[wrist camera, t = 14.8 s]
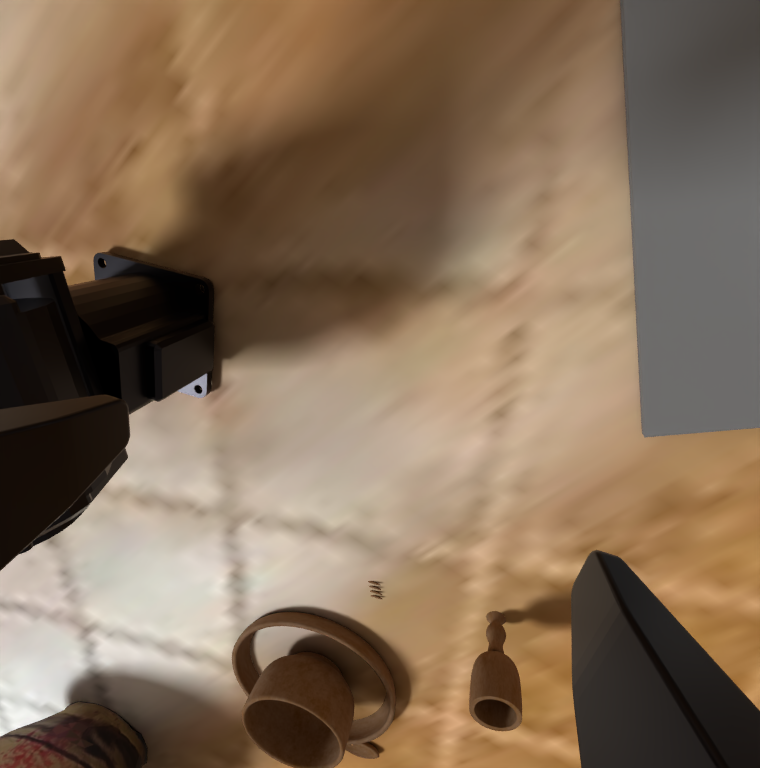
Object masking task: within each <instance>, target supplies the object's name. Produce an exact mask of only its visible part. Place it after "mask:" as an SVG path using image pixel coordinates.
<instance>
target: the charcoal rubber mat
mask: <svg viewBox="0 0 760 768" xmlns="http://www.w3.org/2000/svg"><path fill="white" fill-rule="evenodd" d="M620 6H621V26H622V46H623V66H624V86H625V106H626V125H627V145H628V165H629V185H630V205H631V224H632V244H633V264H634V284H635V304H636V323H637V343H638V363H639V383H640V403H641V423H642V434H643V435H644V437H654V436H666V435H678V434H690V433H702V432H714V431H726V430H738V429H750V428H760V0H620Z"/></svg>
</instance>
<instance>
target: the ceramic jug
mask: <svg viewBox="0 0 760 768" xmlns="http://www.w3.org/2000/svg"><path fill="white" fill-rule="evenodd" d="M146 761H147V746H146V744H145V742H144V739H143V737H142V735H141V734H139V733H138V732H136V731H134V730H132V729H131V728H130V726H129V725H128V724H127V723H126V722H125V721H124V720H123V719H122V718H121V717H120V716H119V715H117V714H116V713H114V712H112V711H111V710H109V709H107V708H105V707H103V706H100V705H97V704H94V703H84V702H77V703H74V704H71V705H69V706H68V707H67V708H66V709H65V710H63V711H61V712H59V713H57V714H55V715H52V716H50V717H48V718H45V719H43V720H41V721H38V722H35V723H32V724H29V725H27V726H24V727H21V728H18V729H16V730H13V731H11V732H9V733H7V734H5V735H3V736H1V737H0V768H141V766H143V765H144V764H146V763H147V762H146Z"/></svg>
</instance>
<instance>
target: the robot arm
mask: <svg viewBox="0 0 760 768" xmlns="http://www.w3.org/2000/svg"><path fill="white" fill-rule="evenodd" d="M104 260H105V261H106V264H107V265H105V263H104ZM63 271H66V270H65V267H64V264H63V261H62V258H61V256H56V257H43V258H41V256H40V253H29V252H28V251H27V250H26V249H25V248H24V247H22V246H21V245H20V244H19V243H18V242H17V241H15V240H14V239H12V240H0V571H1V570H2V569H3V568H4V567H5V566H6V565H7V564H8V563H9V562H11V561H12V560H13V559H14V558H15V557H16V556H17V555H18V554H21V553H24V552H27V551H28V550H30V549H31V548H32V547H33V546H35V545H37V544H39V543H41V542H43V541H45V540H47V539H49V538H51V537H53V536H54V535H56V534H58V533H59V532H61V531H63V530H64V529H65V528H67V527H68V526H69V525H71V524H72V523H73V522H74V521H75V520H76V519H77V518H78V517H79V516H80V515H81V514H82V513H83V512H84V511H85V509H87V507H88V506H89V505H90V503H91V502H92V501H93V500H94V498H95V497H96V496H97V495H98V494H99V492H100V491H101V490H102V489H103V488H104V486H105V485H106V484H107V483H108V481H109V480H110V479H111V478H112V477H113V475H114V474H115V473H116V472H117V471H118V469H119V468H120V467H121V466H122V465H123V463H124V462H125V461H126V460H127V458H128V455H127V452H126V449H125V447H126V445H127V444H128V441H129V438H130V426H129V414H131V413H133V412H135V411H136V410H138V409H140V408H142V407H143V406H145V405H147V404H148V403H150V402H152V401H157V402H159V401H161V400H163V399H165V398H166V397H168V396H170V395H171V394H173V393H175V392H177V391H178V392H182V393H185V394H188V395H191V396H195V397H198V398H202V397H205V396H206V395H208V394H209V393H210V391H211V370H213V358H214V324H213V302H214V288H213V285H212V283H211V281H210V280H209V279H207V278H204V277H201V276H197V275H193V274H189V273H185V272H181V271H178V270H174V269H170V268H166V267H162V266H158V265H155V264H151V263H147V262H143V261H139V260H135V259H132V258H128V257H124V256H120V255H116V254H112V253H109V252H102V253H97V254H95V256H94V272H95V280H94V281H89V282H84V283H79V284H74V285H69V286H68V285H67V282H66V279H65V276H64V273H63ZM200 285H202V286H203V287H204V290H205V291H204V292H202V290H201V289H200ZM199 386H201V388H202V390H203V391H202V390H200V388H199ZM571 627H572V688H573V699H574V709H575V717H576V726H577V734H578V742H579V751H580V759H581V767H582V768H760V711H759V709H758V708H757V707H756V706H755V705H754V704H753V703H752V702H751V701H750V700H749V698H748V697H747V696H746V695H745V694H744V693H743V692H742V691H741V690H740V689H739V687H738V686H737V685H736V684H735V683H734V682H733V681H732V680H731V679H730V678H729V676H728V675H727V674H726V673H725V672H724V671H723V670H722V669H721V668H720V667H719V665H718V664H717V663H716V662H715V661H714V660H713V659H712V658H711V657H710V656H709V654H708V653H707V652H706V651H705V650H704V649H703V648H702V647H701V646H700V645H699V643H698V642H697V641H696V640H695V639H694V638H693V637H692V636H691V635H690V634H689V632H688V631H687V630H686V629H685V628H684V627H683V626H682V625H681V624H680V623H679V621H678V620H677V619H676V618H675V617H674V616H673V615H672V614H671V613H670V612H669V611H668V609H667V608H666V607H665V606H664V605H663V604H662V603H661V602H660V601H659V600H658V598H657V597H656V596H655V595H654V594H653V593H652V592H651V591H650V590H649V589H648V587H647V586H646V585H645V584H644V583H643V582H642V581H641V580H640V579H639V578H638V576H637V575H636V574H635V573H634V572H633V571H632V570H631V569H630V568H629V567H628V565H627V564H626V563H625V562H624V561H623V560H622V559H621V558H619V557H618V556H615V555H612V554H609V553H605V552H602V551H599V550H595V551H592V552H591V553H590V554H589V556H588V558H587V559H586V561H585V563H584V565H583V567H582V569H581V571H580V573H579V575H578V576H577V578H576V580H575V582H574V585H573V588H572V594H571Z"/></svg>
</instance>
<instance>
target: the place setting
mask: <svg viewBox="0 0 760 768" xmlns="http://www.w3.org/2000/svg"><path fill="white" fill-rule="evenodd" d="M368 582H369V583H372V584H376V585H380V584H378V583H376V582H374V581H368ZM369 587H371V588H374V589H378V590H381V589H379V588H377V587H375V586H369ZM370 592H373V593H376V594H380V595H382V594H381V593H379V592H377V591H373V590H371V591H370ZM371 596H372V597H375V598H378V599H382V598H380V597H378V596H376V595H371ZM486 618H487V620H488V622H489V623H491V624H490V625H489V626H488V628H487V630H486V636H487V639H488V642H489V648H488V651H487V652H484V653H482V654H481V655H479V656H478V658H477V659H476V661H475V663H474V666H473V670H472V675H471V684H470V700H469V710H470V714H471V716H472V717H473V718H474V720H475V721H477V722H478V723H479V724H480V725H482V726H484V727H486V728H489V729H492V730H496V731H510V730H513V729H515V728H517V727H518V726H519V725H520V724H521V722H522V698H521V686H520V678H519V674H518V670H517V668H516V666H515V664H514V662H513V661H512V660H511V659H510V658H509V657H508V656H507V655H505V654H504V651H503V644H504V642H505V639H506V632H505V630H504V628H503V626H502V625H503V624H504V623H505V622H506V618H505V616H504V615H503V614H502V613H500V612H497V611H492V612H489V613H488V614H487V616H486ZM273 626H291V627H298V628H304V629H307V630H311V631H315V632H317V633H320V634H323V635H325V636H328V637H330V638H332V639H334V640H336V641H338V642H340V643H341V644H343V645H345V646H347V647H348V648H349V649H351V650H352V651H354V652H355V653H356V654H358V655H359V656H360V657H361V658H362V659H364V660H365V661H366V662H367V663H368V664H369V665H370V666H371V667H372V668H373V670H374V671H375V672H376V674H377V675H378V676H379V678H380V679H381V681H382V683H383V684H384V686H385V688H386V691H387V693H386V698H385V701H384V703H383V704H382V706H381V707H380V708H379V709H378V711H376V712H375V713H374V714H372V715H370V716H368V717H366V718H363V719H359V720H354V721H353V717H354V701H353V696H352V693H351V690H350V688H349V686H348V684H347V683H346V681H345V680H344V678H343V677H342V674H341V672H340V670H339V669H338V667H337V666H336V665H335V664H334V663H333V662H332V661H330V660H329V659H328V658H326V657H324V656H322V655H319V654H317V653H313V652H300V653H297V654H296V655H288V656H284V657H281V658H279V659H277V660H275V661H273V662H272V663H271V664H269V665H268V666H267V668H266V669H265V670H264V671H263V672H262V674H261V675H260V676H259V675H258V673H257V671H256V669H255V667H254V665H253V662H252V659H251V655H250V643H251V640H252V637H253V635H254V633H255V632H256V631H257V630H260V629H263V628H267V627H273ZM232 664H233V670H234V673H235V676H236V678H237V681H238V683H239V684H240V686H241V688H242V689H243V691H244V692H245V694H246V695H247V696H248V699H247V701H246V703H245V705H244V707H243V710H242V722H243V726H244V728H245V730H246V732H247V734H248V736H249V737H250V738H251V740H252V741H253V742H254V743H255V744H256V745H257V746H258V747H259V748H260V749H261V750H263V751H264V752H265V753H266V754H268V755H269V756H271V757H272V758H274V759H276V760H277V761H279V762H281V763H283V764H286V765H288V766H291V767H294V768H334V767H335V766H337V765H338V764H339V763H340V762H341V761H342V759H343V756H344V752H345V750H347V751H349V752H350V753H352V754H354V755H356V756H359V757H362V758H367V759H375V758H378V757H379V753H378V750H377V749H376V748H375V747H374V746H373V745H372V744H370V743H368V742H369V741H371V740H374V739H376V738H378V737H379V736H381V735H382V734H383V733H384V732H385V731H386V730H387V729H388V728H389V726H390V725H391V723H392V720H393V717H394V713H395V705H396V694H395V687H394V683H393V679H392V677H391V675H390V672H389V670H388V668H387V666H386V665H385V663H384V661H383V660H382V659H381V657H380V656H379V655H378V653H377V652H376V651H375V650H374V649H373V648H372V647H371V646H370V645H369V644H368V643H367V642H366V641H364V640H363V639H362V638H361V637H359V636H358V635H357V634H355V633H354V632H352V631H351V630H349V629H347V628H345V627H344V626H342V625H340V624H338V623H336V622H333V621H331V620H328V619H326V618H323V617H320V616H316V615H312V614H307V613H301V612H280V613H274V614H270V615H267V616H264V617H262V618H260V619H258V620H256V621H255V622H253V623H252V624H251V625H250V626H248V627H247V628H246V629H245V631H244V632H243V633H242V634H241V635H240V637H239V638H238V640H237V642H236V644H235V646H234V649H233V652H232Z"/></svg>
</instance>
